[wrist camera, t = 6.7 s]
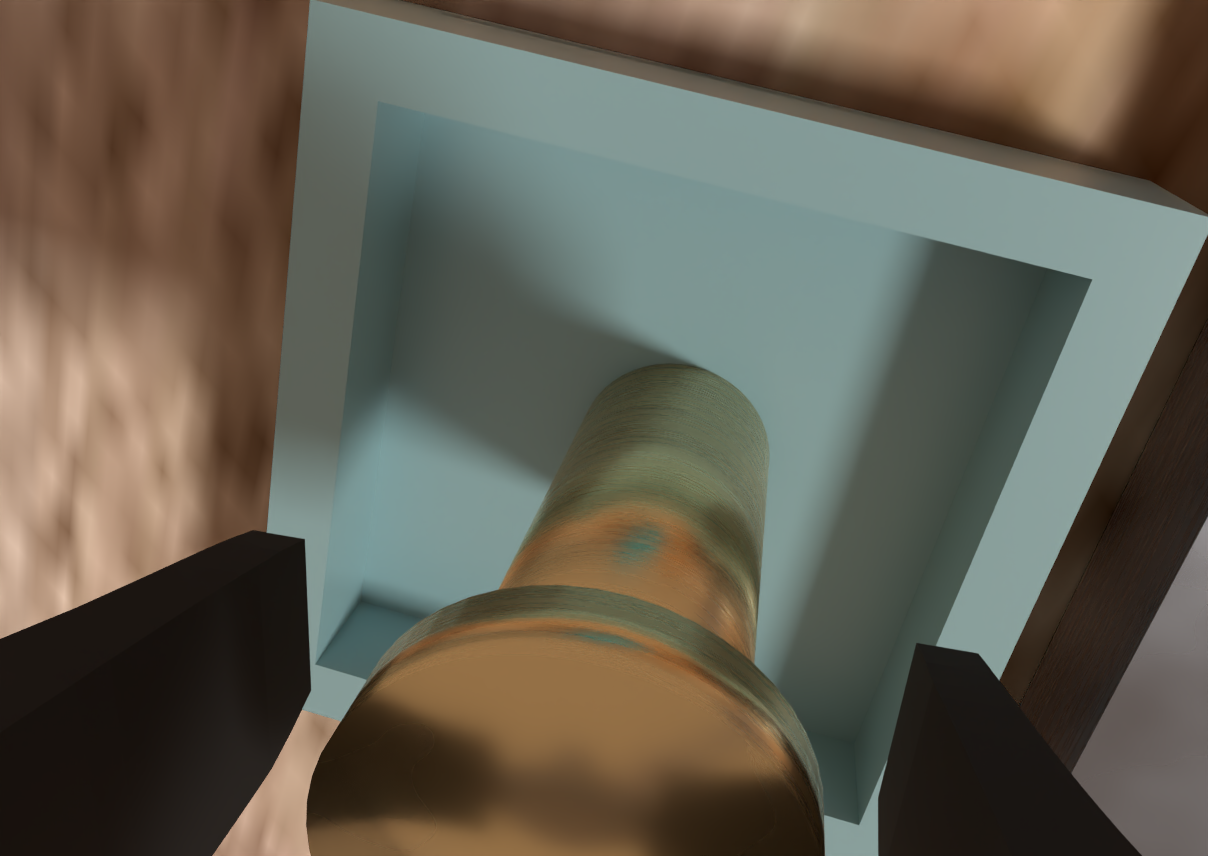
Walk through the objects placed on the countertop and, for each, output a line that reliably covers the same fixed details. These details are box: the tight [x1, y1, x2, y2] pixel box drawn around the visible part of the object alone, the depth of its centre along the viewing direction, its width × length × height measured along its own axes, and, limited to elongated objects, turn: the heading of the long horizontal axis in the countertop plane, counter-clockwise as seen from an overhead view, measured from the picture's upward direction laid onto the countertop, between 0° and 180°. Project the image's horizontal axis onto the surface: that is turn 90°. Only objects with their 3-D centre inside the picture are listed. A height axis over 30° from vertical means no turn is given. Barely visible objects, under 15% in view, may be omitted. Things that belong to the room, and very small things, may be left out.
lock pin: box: [306, 363, 825, 856], centre depth 12 cm, size 4×4×8 cm
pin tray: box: [267, 0, 1208, 856], centre depth 16 cm, size 11×11×2 cm
